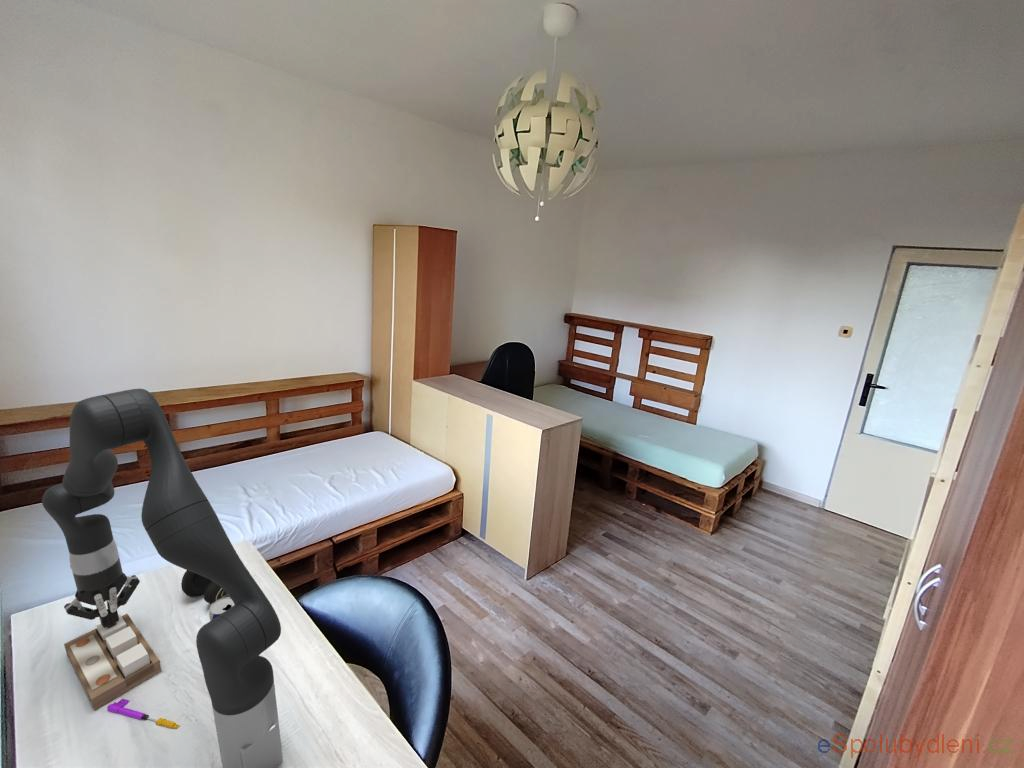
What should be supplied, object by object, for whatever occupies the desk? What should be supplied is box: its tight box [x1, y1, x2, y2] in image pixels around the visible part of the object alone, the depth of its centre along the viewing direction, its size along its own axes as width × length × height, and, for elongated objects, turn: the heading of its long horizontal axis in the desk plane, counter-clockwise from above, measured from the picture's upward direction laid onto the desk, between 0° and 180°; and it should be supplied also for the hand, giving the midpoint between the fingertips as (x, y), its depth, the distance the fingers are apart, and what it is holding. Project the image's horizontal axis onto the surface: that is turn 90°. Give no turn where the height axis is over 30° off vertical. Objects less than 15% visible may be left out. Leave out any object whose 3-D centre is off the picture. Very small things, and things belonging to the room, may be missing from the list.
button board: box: [63, 613, 163, 711], centre depth 97 cm, size 20×11×4 cm, turn 55°
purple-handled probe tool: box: [106, 698, 181, 730], centre depth 88 cm, size 3×1×16 cm
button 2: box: [116, 643, 150, 678], centre depth 94 cm, size 4×4×3 cm
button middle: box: [105, 626, 138, 659], centre depth 97 cm, size 4×4×3 cm
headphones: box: [180, 570, 229, 605], centre depth 114 cm, size 9×15×20 cm, turn 74°
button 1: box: [96, 614, 127, 642], centre depth 102 cm, size 4×4×3 cm
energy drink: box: [208, 596, 235, 622], centre depth 101 cm, size 5×5×12 cm
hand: (111, 624), depth 101 cm, fingers closed
